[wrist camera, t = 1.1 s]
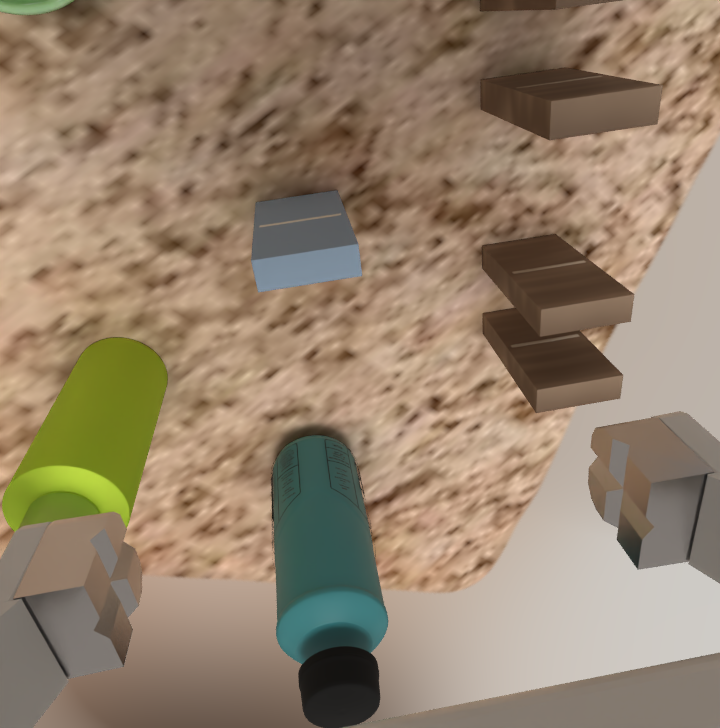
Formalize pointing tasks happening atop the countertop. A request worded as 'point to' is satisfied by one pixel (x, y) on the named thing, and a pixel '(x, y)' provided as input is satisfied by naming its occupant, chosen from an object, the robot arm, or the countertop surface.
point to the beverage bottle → (327, 581)
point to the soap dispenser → (92, 438)
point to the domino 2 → (534, 4)
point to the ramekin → (31, 6)
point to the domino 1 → (303, 242)
